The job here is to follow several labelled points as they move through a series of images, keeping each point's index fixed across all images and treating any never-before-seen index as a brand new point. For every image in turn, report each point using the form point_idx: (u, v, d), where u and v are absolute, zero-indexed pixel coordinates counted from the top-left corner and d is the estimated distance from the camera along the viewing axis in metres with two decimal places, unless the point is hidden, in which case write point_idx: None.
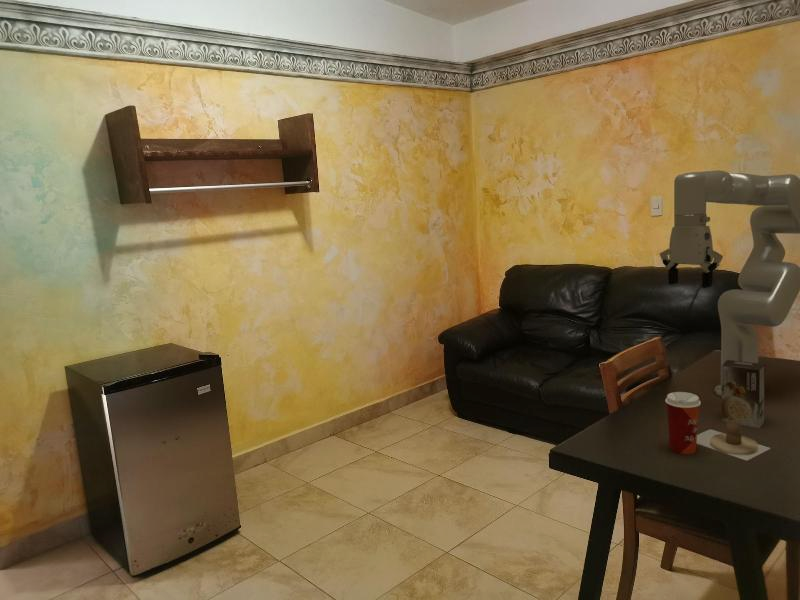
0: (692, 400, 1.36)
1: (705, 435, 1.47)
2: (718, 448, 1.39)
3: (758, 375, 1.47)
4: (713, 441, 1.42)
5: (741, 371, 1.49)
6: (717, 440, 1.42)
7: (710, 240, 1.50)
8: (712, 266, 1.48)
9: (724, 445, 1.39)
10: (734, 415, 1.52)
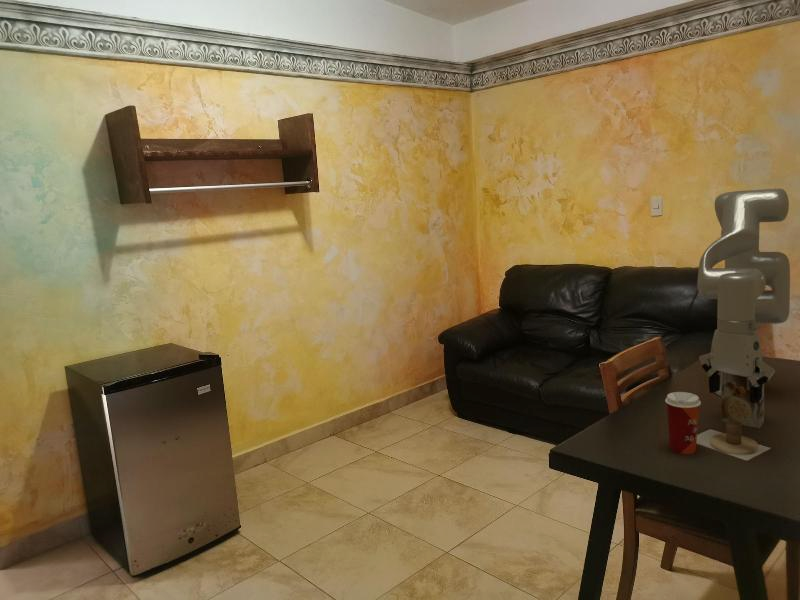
0: (692, 400, 1.36)
1: (705, 435, 1.47)
2: (718, 448, 1.39)
3: None
4: (713, 441, 1.42)
5: None
6: (717, 440, 1.42)
7: (759, 350, 1.32)
8: (762, 380, 1.31)
9: (724, 445, 1.39)
10: (734, 415, 1.52)
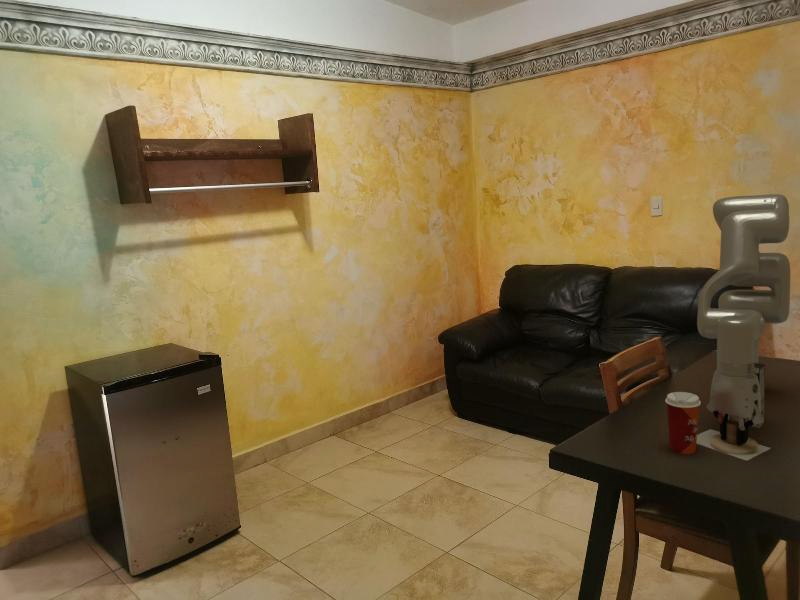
0: (692, 400, 1.36)
1: (705, 435, 1.47)
2: (718, 448, 1.39)
3: (758, 375, 1.47)
4: (713, 441, 1.42)
5: None
6: (717, 440, 1.42)
7: (758, 392, 1.34)
8: (748, 424, 1.36)
9: (724, 445, 1.39)
10: None
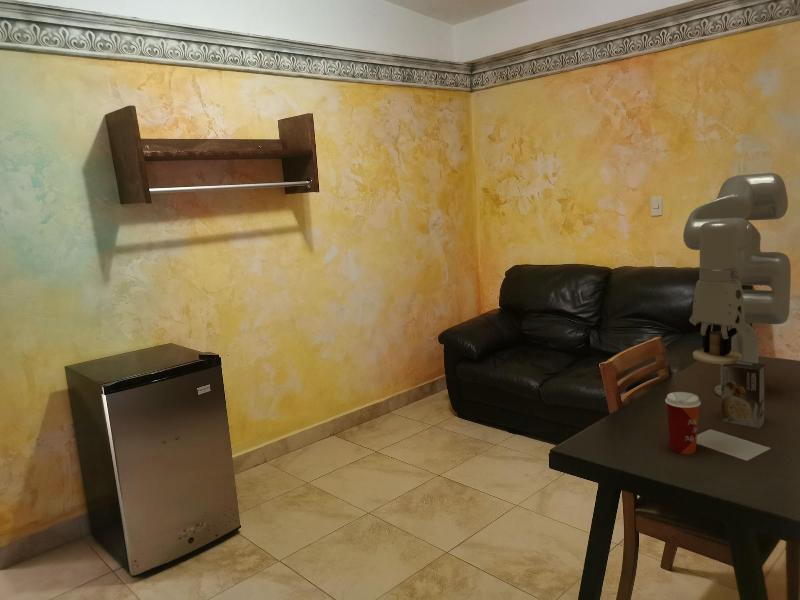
0: (692, 400, 1.36)
1: (705, 435, 1.47)
2: (701, 359, 1.35)
3: (758, 375, 1.47)
4: (696, 353, 1.38)
5: (741, 371, 1.49)
6: (700, 353, 1.38)
7: (742, 298, 1.31)
8: (731, 332, 1.32)
9: (707, 356, 1.35)
10: (734, 415, 1.52)
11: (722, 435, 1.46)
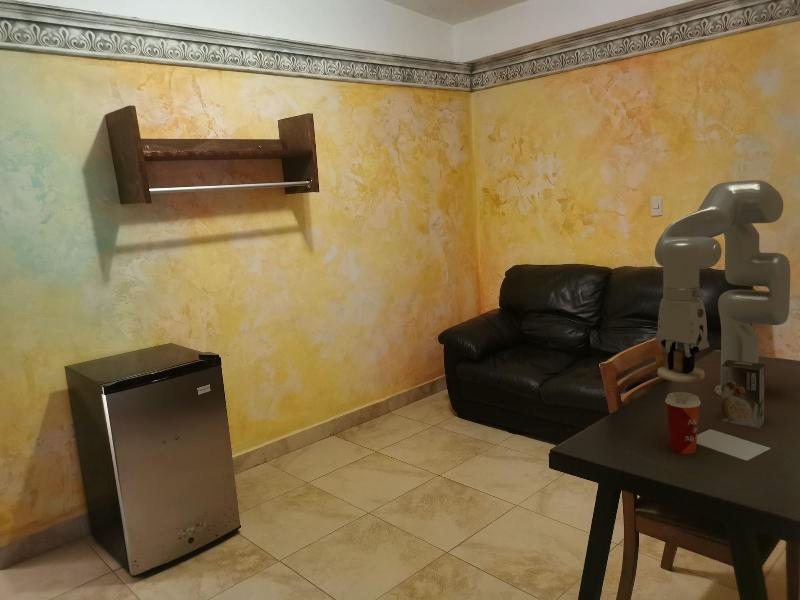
0: (692, 400, 1.36)
1: (705, 435, 1.47)
2: (664, 376, 1.36)
3: (758, 375, 1.47)
4: (660, 370, 1.40)
5: (741, 371, 1.49)
6: (664, 370, 1.40)
7: (704, 317, 1.32)
8: (694, 350, 1.33)
9: (671, 374, 1.37)
10: (734, 415, 1.52)
11: (722, 435, 1.46)
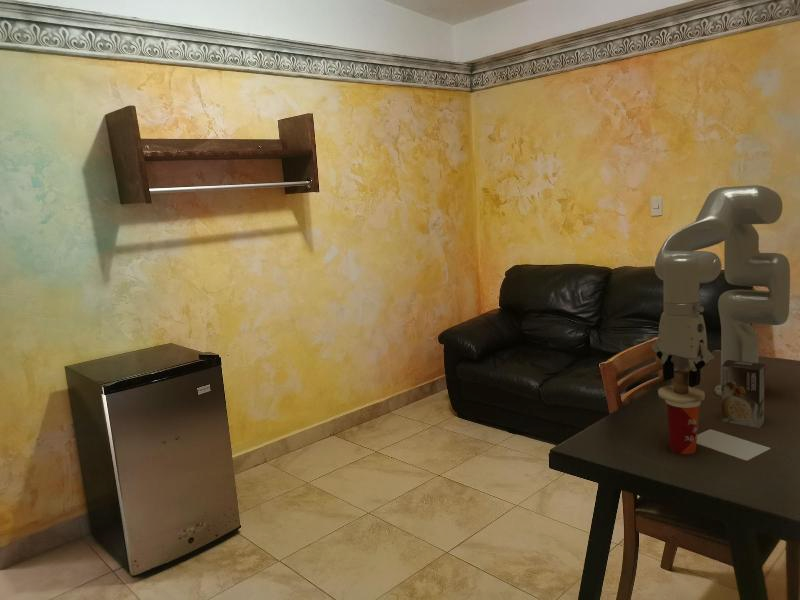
0: None
1: (705, 435, 1.47)
2: (665, 397, 1.38)
3: (758, 375, 1.47)
4: (661, 391, 1.41)
5: (741, 371, 1.49)
6: (665, 390, 1.41)
7: (704, 332, 1.33)
8: (700, 365, 1.33)
9: (671, 395, 1.38)
10: (734, 415, 1.52)
11: (722, 435, 1.46)
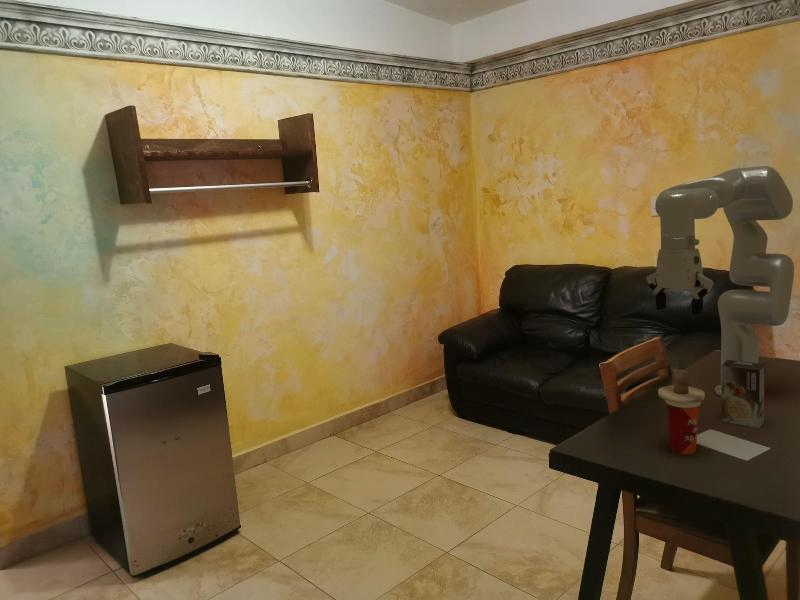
0: None
1: (705, 435, 1.47)
2: (665, 397, 1.38)
3: (758, 375, 1.47)
4: (661, 391, 1.41)
5: (741, 371, 1.49)
6: (665, 390, 1.41)
7: (700, 264, 1.39)
8: (702, 292, 1.38)
9: (671, 395, 1.38)
10: (734, 415, 1.52)
11: (722, 435, 1.46)
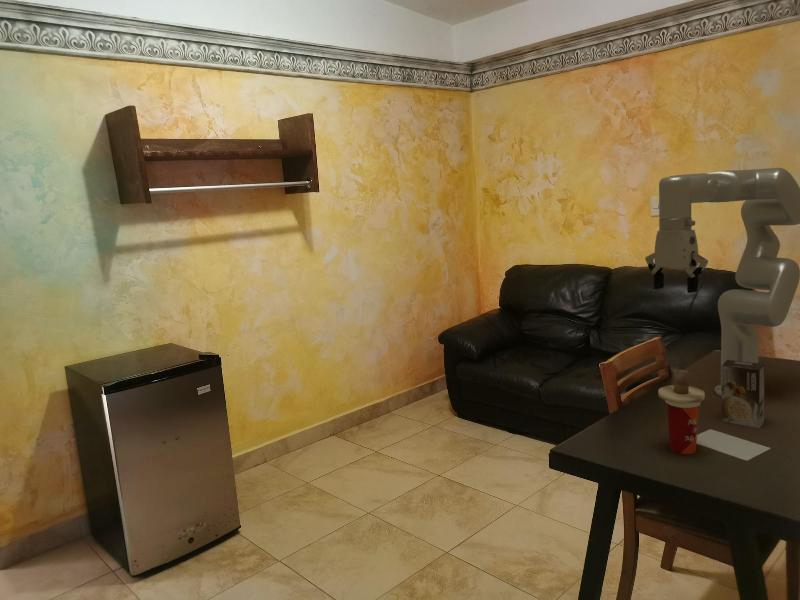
0: None
1: (705, 435, 1.47)
2: (665, 397, 1.38)
3: (758, 375, 1.47)
4: (661, 391, 1.41)
5: (741, 371, 1.49)
6: (665, 390, 1.41)
7: (695, 244, 1.47)
8: (697, 271, 1.46)
9: (671, 395, 1.38)
10: (734, 415, 1.52)
11: (722, 435, 1.46)
